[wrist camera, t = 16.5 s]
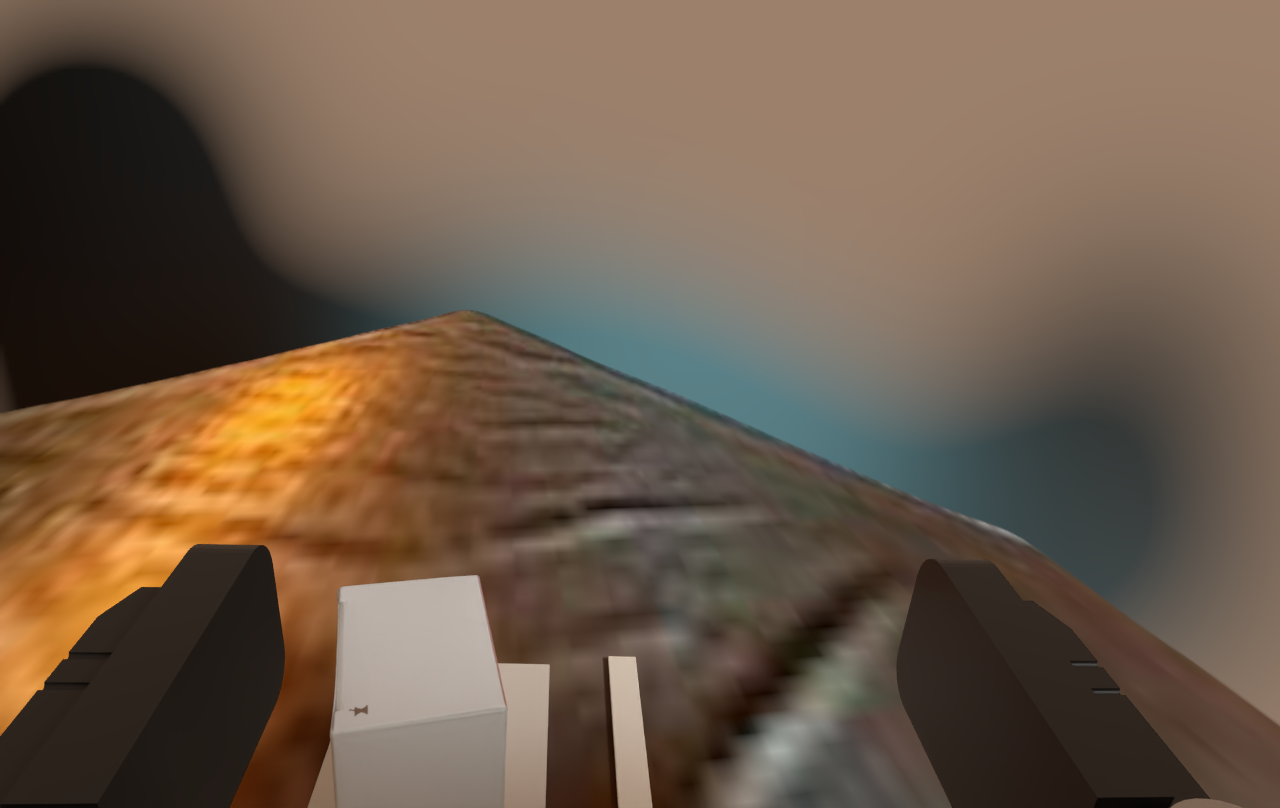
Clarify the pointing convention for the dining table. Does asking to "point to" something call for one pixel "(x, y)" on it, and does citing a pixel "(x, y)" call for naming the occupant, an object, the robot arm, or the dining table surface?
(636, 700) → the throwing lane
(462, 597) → the small box
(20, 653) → the dining table surface
